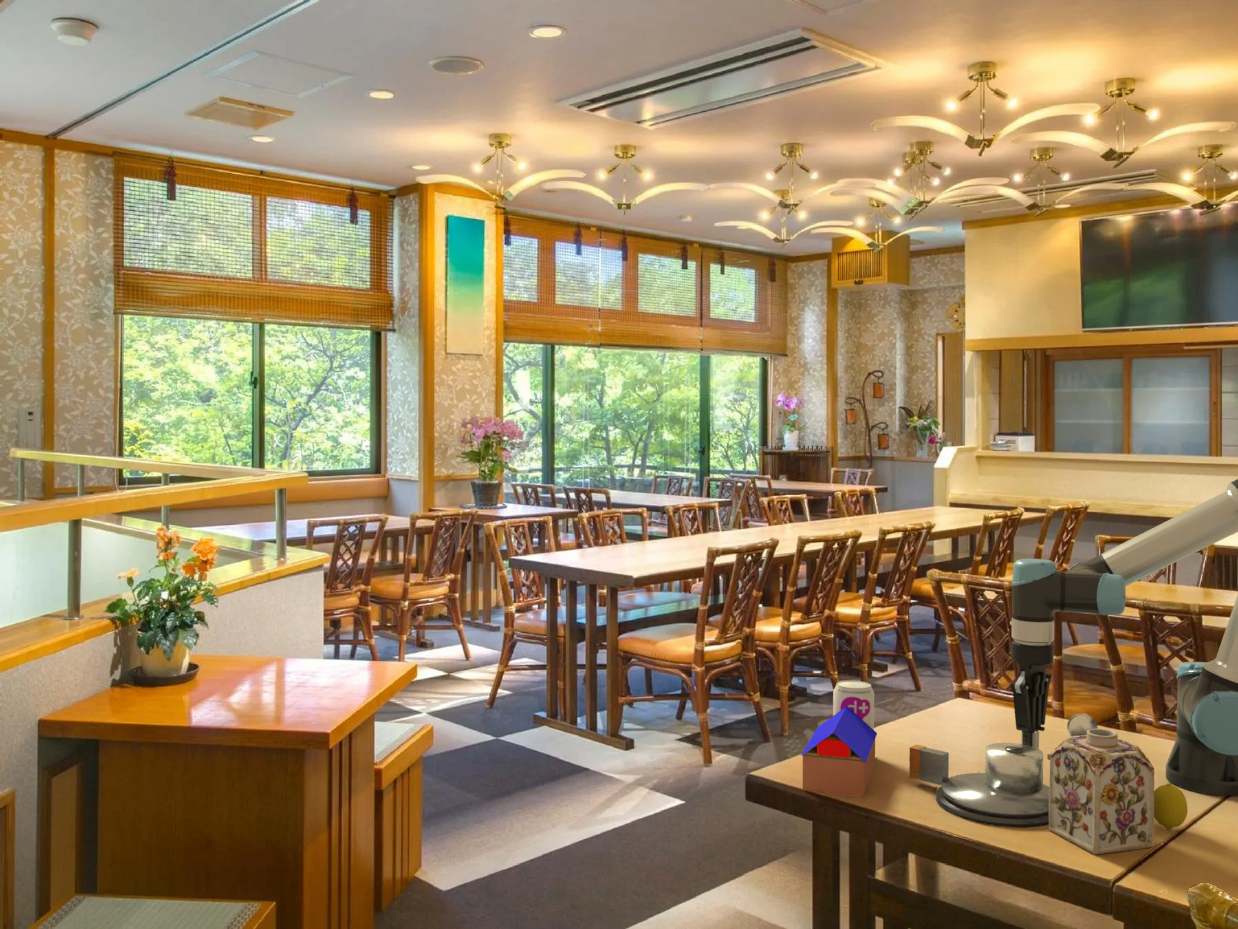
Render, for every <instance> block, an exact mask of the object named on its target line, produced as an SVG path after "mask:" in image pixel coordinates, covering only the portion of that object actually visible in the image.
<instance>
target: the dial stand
mask: <svg viewBox="0 0 1238 929" xmlns="http://www.w3.org/2000/svg"><path fill="white" fill-rule="evenodd" d="M1066 725H1067V726H1066V727H1067V728H1066V729H1067V733H1068V734H1069V735H1070V736H1069V737H1072V736H1082V735H1087V731H1088V730H1090V729H1099V727H1098V723H1097V722H1096V720H1095V719H1094V718H1093V717H1092V716H1090V715H1089V714H1087V713H1076V714H1074V715H1072V716H1071V717H1070V718H1069V720H1068V721H1067V724H1066ZM1050 754H1051V753H1050ZM1050 754H1049V753H1048V754H1047V760H1048V761H1050Z"/></svg>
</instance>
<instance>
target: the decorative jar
mask: <svg viewBox="0 0 1238 929" xmlns="http://www.w3.org/2000/svg"><path fill="white" fill-rule="evenodd" d="M1048 780H1049V782H1048V784H1049V785H1048V787H1049V825H1048V830H1049V831H1050V832H1052V833H1055V834H1056V835H1058V836H1059V837H1061V838H1063V839H1065V840H1067V841H1068V842H1070V843H1073V844H1074V845H1076V846H1078V847H1080V848H1081V849H1083V850H1086V851H1087V852H1089V853H1091V854H1093V855H1095V856H1097V855H1105V854H1111V853H1118V852H1126V851H1133V850H1134V851H1136V850H1140V849H1141V850H1143V849H1149V848H1153V847H1154V838H1155V837H1154V835H1155V834H1154V831H1155V818H1154V791H1155V767H1154V765H1153V764H1152V762H1151V761H1150V760H1149V758H1148V757H1147V755H1146V754H1145V753H1144V752H1143V751H1142V749H1141V748H1140V747H1139V746H1138V745H1136V744H1134V743H1131V742H1128V741H1126V740H1123V739H1119V736H1118V733H1117V731H1114V730H1111V729H1106V728H1098V729H1090V730H1088V731H1087V735H1082V736H1072V737H1071V736H1069V737H1067V738H1065V739H1064V740H1063V741H1062V742H1061V743H1059V744H1058V746H1056V747H1055V748H1054V749H1053V750H1052V751H1051V753H1050V760H1049V779H1048Z"/></svg>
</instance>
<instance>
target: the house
mask: <svg viewBox="0 0 1238 929" xmlns="http://www.w3.org/2000/svg"><path fill="white" fill-rule="evenodd" d="M877 735H878V733H877V731H876V730H875V729H874V730H873V729H872V728H871V727H870V726H869V725H868V724H867V723H865V722H864V721H863V720H862V719H861V718H860V717H859V716H858V715H857V714H855V713H854V712H853V711H852V710H851V709H850V708H849V707H848V706H846V707H845V708H843V709H842V710H841V711H839V712H838V713H837V714H835V715H834V716H833V715H832V716H831V717H830V718H829V719H827V720H825V721H824V722H823V723H821V724H820V725H819V726H817V727H816V729H815V731H814V733H813V734H812V736H811V738H810V739H809V741H808V743H807V744H806V746H805V748H804V749H803V751H802V752H801V755H800V756H801V757H802V791H804V792H805V791H806V792H815V793H823V794H833V795H841V796H853V797H860V798H864V797H865V796H866V792H867V790H868V786H869V785H870V781H871V779H870V778H872V775H873V773H874V770H875V767H876V738H877Z"/></svg>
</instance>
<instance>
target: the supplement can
mask: <svg viewBox="0 0 1238 929" xmlns="http://www.w3.org/2000/svg"><path fill="white" fill-rule="evenodd" d="M832 691H833V696H832V699H833V700H832V709H833V710H832V717H833V716H834V715H835V714H837V713H838V712H839V711H841V710H842V709H843V708H845V707H846V706H848V707H849V708H850V709H851V710H852V711H853V712H854V713H855V714H857V715H858V716H859V717H860V718H861V719H862V720H863V721H864V722H865V723H867V724H868V725H869V726H870V727H871V728H872V729H873V730H874V731H875V691H874V688H873V687H872V684H870V683H868V682H866V681H859V680H841V681H838V682H836V685H835V687H834V689H833V690H832Z"/></svg>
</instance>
